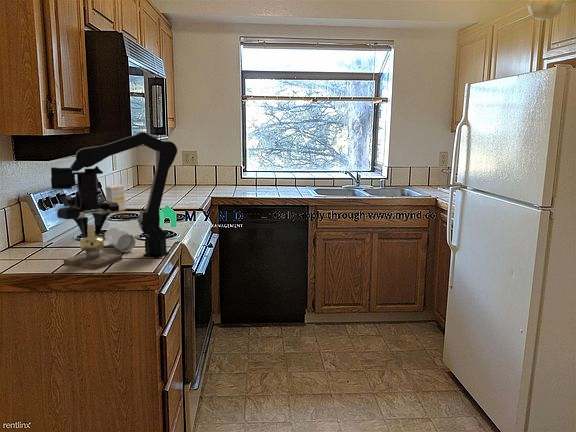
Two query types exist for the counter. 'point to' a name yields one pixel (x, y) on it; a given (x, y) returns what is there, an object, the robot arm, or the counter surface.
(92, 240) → the cap
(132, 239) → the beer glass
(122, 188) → the supplement box
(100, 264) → the base
